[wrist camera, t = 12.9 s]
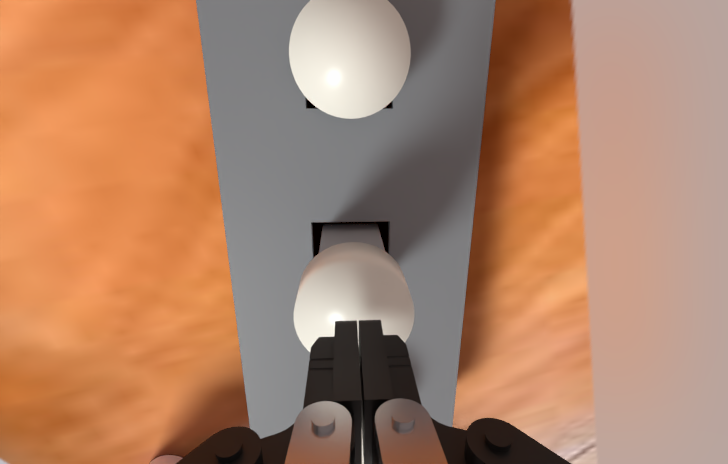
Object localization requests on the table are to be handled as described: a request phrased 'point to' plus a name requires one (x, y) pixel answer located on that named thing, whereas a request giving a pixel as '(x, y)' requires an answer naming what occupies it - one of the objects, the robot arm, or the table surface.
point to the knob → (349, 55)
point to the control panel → (345, 185)
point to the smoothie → (166, 459)
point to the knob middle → (352, 285)
